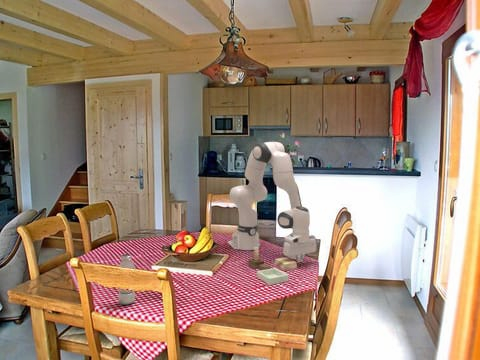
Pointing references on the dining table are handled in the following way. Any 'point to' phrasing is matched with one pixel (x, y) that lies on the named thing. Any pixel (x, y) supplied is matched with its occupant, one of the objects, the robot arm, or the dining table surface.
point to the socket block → (255, 263)
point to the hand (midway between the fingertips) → (299, 262)
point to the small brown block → (264, 267)
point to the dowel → (256, 254)
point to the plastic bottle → (126, 295)
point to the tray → (272, 276)
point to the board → (285, 263)
